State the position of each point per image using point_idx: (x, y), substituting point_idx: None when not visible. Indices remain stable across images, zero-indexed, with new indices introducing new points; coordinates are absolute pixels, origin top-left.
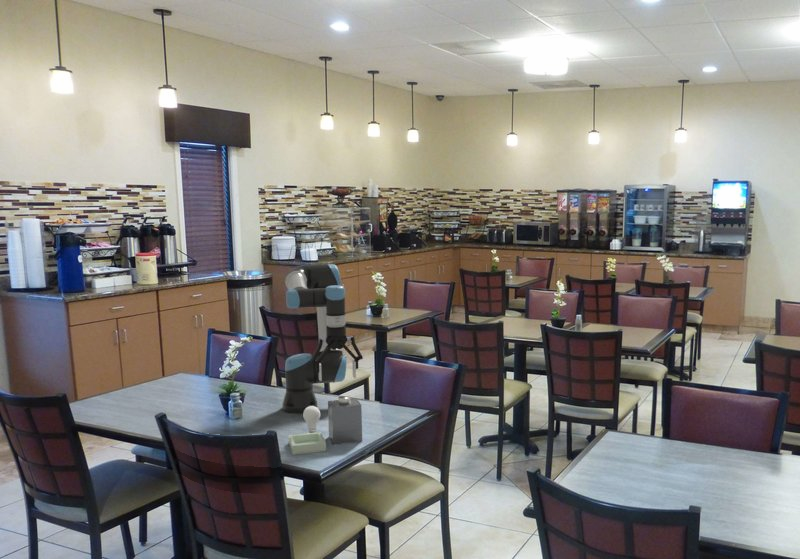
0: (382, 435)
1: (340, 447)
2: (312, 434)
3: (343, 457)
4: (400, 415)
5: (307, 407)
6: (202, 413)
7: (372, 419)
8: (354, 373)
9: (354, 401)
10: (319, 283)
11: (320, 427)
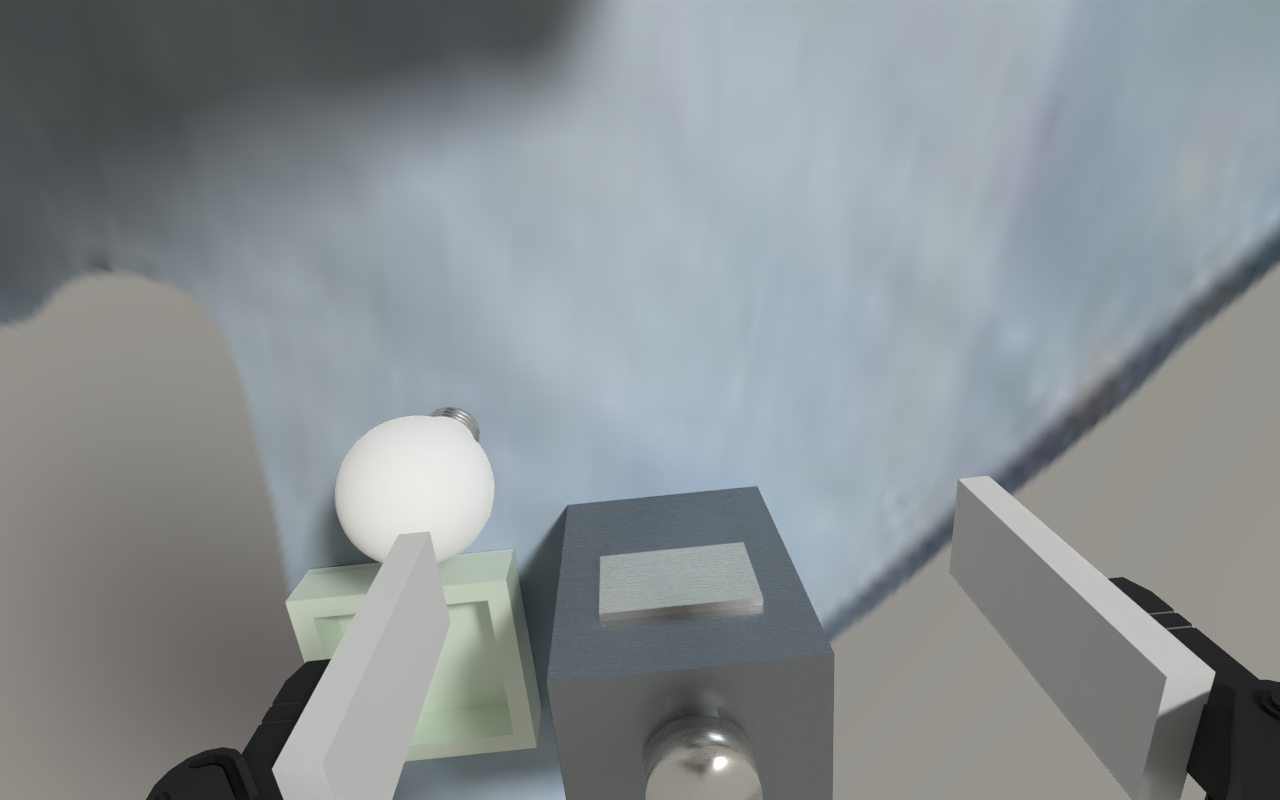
0: (904, 544)
1: None
2: (450, 601)
3: None
4: (1190, 136)
5: (357, 524)
6: None
7: (942, 189)
8: (993, 619)
9: (795, 735)
10: None
11: (513, 295)
